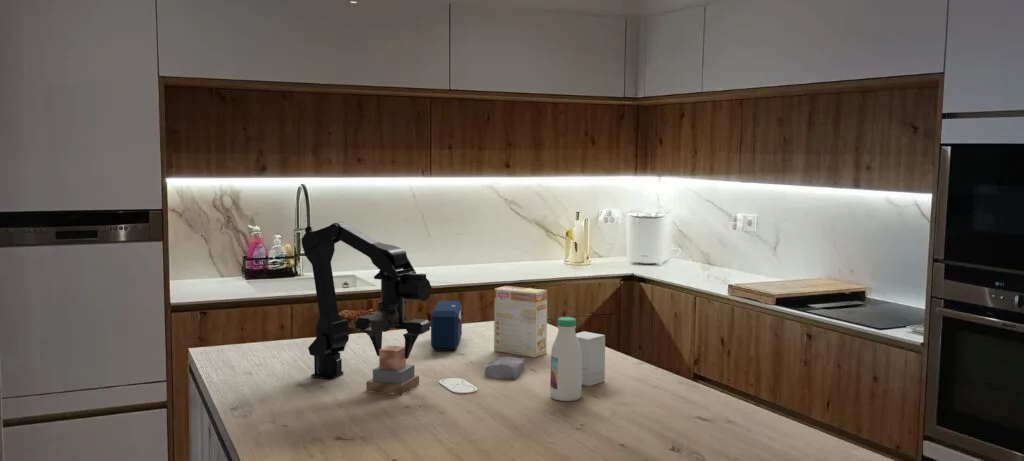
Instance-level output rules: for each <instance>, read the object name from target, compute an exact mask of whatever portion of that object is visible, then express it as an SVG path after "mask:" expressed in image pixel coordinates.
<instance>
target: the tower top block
mask: <svg viewBox="0 0 1024 461" xmlns="http://www.w3.org/2000/svg"><path fill="white" fill-rule="evenodd" d="M414 375H415V364H408V363H406V366H405V367H403V368H401V369H399V370H388V369H379V366H377V367H374V368H373V369H372V379H373V381H376V382H385V383H395V384H403V383H404V382H406V381H407V380H409V379H411V378H412V377H414Z"/></svg>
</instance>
